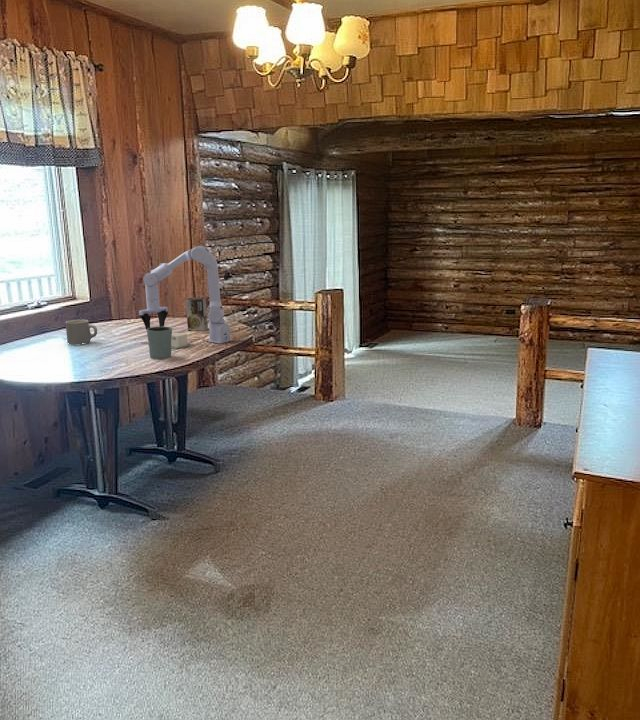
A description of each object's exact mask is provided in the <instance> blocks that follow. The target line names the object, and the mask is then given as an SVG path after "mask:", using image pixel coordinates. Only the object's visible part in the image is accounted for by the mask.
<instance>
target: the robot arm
mask: <svg viewBox="0 0 640 720" xmlns="http://www.w3.org/2000/svg"><path fill="white" fill-rule="evenodd" d="M186 261H195V262H198V263H200V264H202V265H203V266H204V267H206V272H207V284H208V296H209V307H208V308H209V310H208V312H207V319H208V320H209V321H208V330H209V339H206V340H205V342H207V341H208V342H207V343H213V342H214V343H213V344H219V345H220V344H223V343H224V344H225V343H228V342H232V341H233V340H232V339H231V327H230V325H229V324H227V323H226V322H225V319H224V317H225V310H224V307H223V304H222V301H221V291H220V288H221V287H220V279H219V265H218V261H217V259H216V258H215V256H214V255H213V254H212V252H211V250H210V249H209V248H207V246H204V245H198V246H195V247H193V248H191V249H188V250H185V252H183V253H181V254H180V255H179V256H177V257H176V258H174V259H173V260H171V261H170V262H168V263H167V262H164V263H162V262H161V263H159V264H158V266H157V267H156V268H154V269H151V270H150V272H146V274H145V275H144V276H143V277H142V278H143V279H142V281H143V284H144V287H145V299H146V300H145V301H146V309H141V310H139V311H138V315H139V317H140V319H141V320H142V322H143V324H144V327H145V329H146V331H147V328H151V317H152V315H151V314H157V317H158V323H159V324H158V325H159V326H158V327H162V326H164V327H165V322H166V319H167V316H168V311H169V308H168V306H161V305H160V293H159V284H158V283H159V282H161V281H162V280H164V279H166V278H167V277H168V276H170V275H172V273H173V270H174V269H176V268H177V267H178V266H180V265H183V264H184V263H185V262H186ZM149 314H150V315H149Z"/></svg>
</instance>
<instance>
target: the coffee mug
mask: <svg viewBox="0 0 640 720" xmlns="http://www.w3.org/2000/svg"><path fill="white" fill-rule="evenodd" d="M89 323H90V322H89V320H88V319H73V320H72V319H71V320H67V321H65V332H66V340H67V342H66V343H67V344H68V343H69V344H82V343H87V342H90V343H91V339H94V338H95V337H96V336H97V335H98V329H97V326H96V325H94V324H89ZM91 329H93V331H94V332H93V333H91V331H90V330H91ZM69 344H68V345H69ZM82 345H83V344H82Z"/></svg>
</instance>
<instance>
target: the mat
mask: <svg viewBox="0 0 640 720" xmlns="http://www.w3.org/2000/svg"><path fill="white" fill-rule="evenodd" d="M140 343H141V344H143V343H146V344H145V345H149V342H148V340H146V341H141V342H140ZM191 345H193V346H194V344H193V343H188V342H187V346H188V347H191ZM187 346H182V347H184V348H187ZM182 347H174V346H171V350H179V349H183V348H182ZM178 348H179V349H178Z"/></svg>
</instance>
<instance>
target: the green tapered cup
mask: <svg viewBox="0 0 640 720" xmlns="http://www.w3.org/2000/svg"><path fill="white" fill-rule="evenodd" d="M172 332H173V327H170V326H165V325H164V326H162V327H160V326H150V328H147V330H146V333H147V341H148V342H149V344H148V348H149V350H148V352H149V358H150V359H152V358H153V360H165V359H164V358H166V359H169V357H170V358H172V349H171V339H172Z"/></svg>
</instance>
